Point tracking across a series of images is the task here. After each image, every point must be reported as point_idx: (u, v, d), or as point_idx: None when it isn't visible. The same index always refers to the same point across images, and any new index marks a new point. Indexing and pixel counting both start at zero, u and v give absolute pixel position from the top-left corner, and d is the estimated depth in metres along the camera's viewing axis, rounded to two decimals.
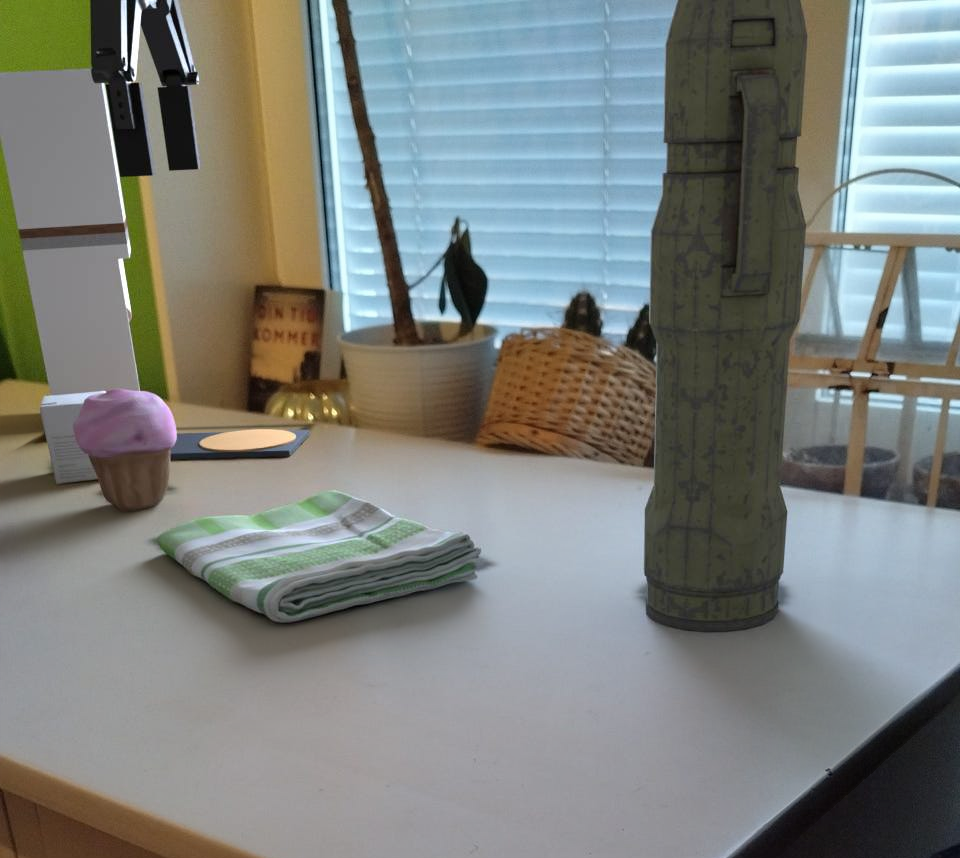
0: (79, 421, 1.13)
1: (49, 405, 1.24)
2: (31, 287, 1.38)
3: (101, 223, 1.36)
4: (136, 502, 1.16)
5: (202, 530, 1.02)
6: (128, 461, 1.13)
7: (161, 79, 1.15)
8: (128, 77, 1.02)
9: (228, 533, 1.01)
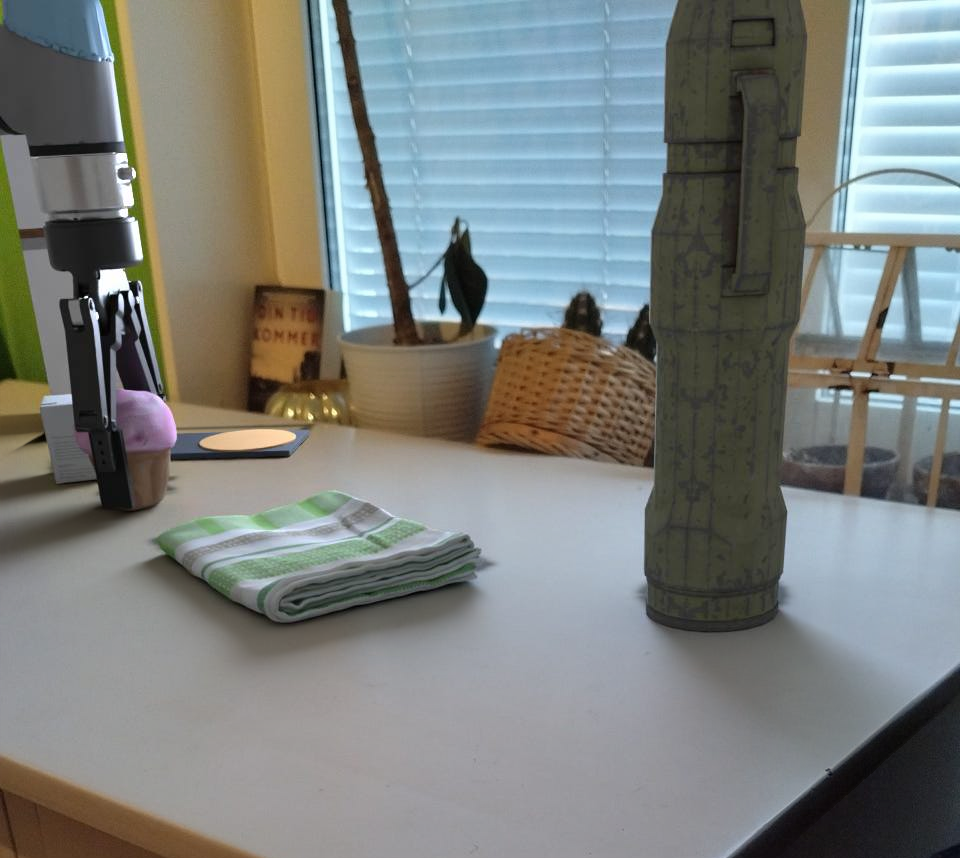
0: None
1: (49, 405, 1.24)
2: (31, 287, 1.38)
3: None
4: (136, 502, 1.16)
5: (202, 530, 1.02)
6: (128, 460, 1.13)
7: None
8: (109, 429, 1.09)
9: (228, 533, 1.01)
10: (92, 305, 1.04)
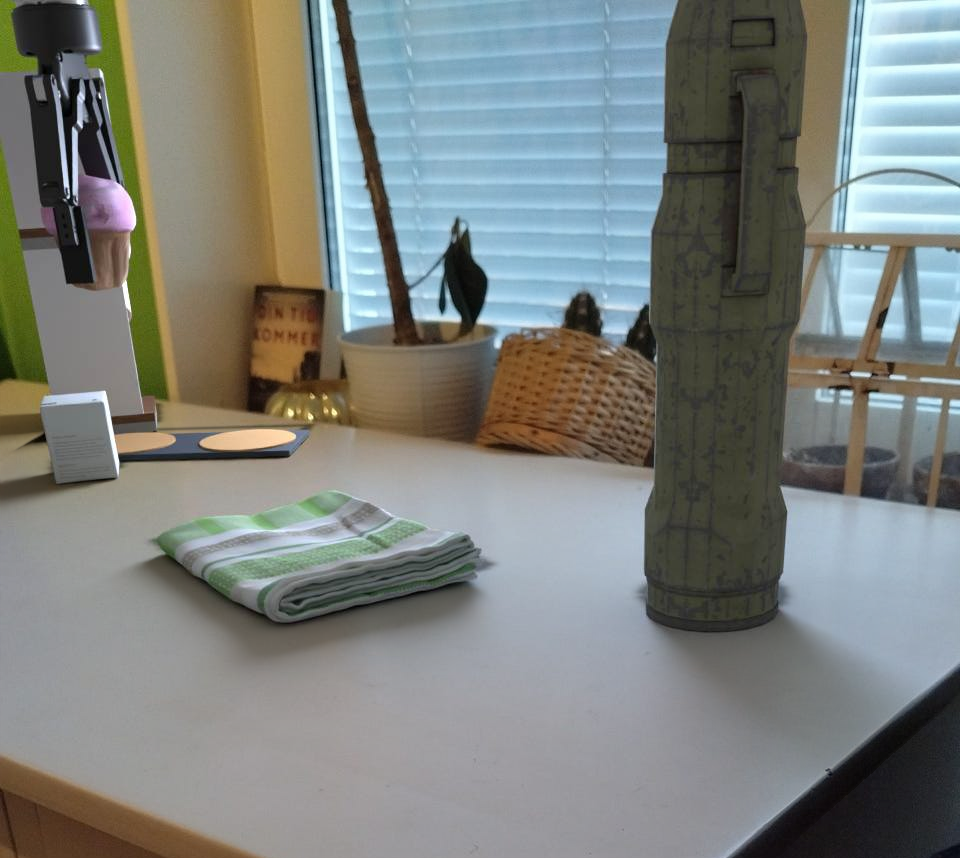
0: None
1: (49, 405, 1.24)
2: (31, 287, 1.38)
3: None
4: (98, 282, 1.26)
5: (202, 530, 1.02)
6: (90, 239, 1.24)
7: None
8: (71, 203, 1.20)
9: (228, 533, 1.01)
10: (54, 81, 1.15)
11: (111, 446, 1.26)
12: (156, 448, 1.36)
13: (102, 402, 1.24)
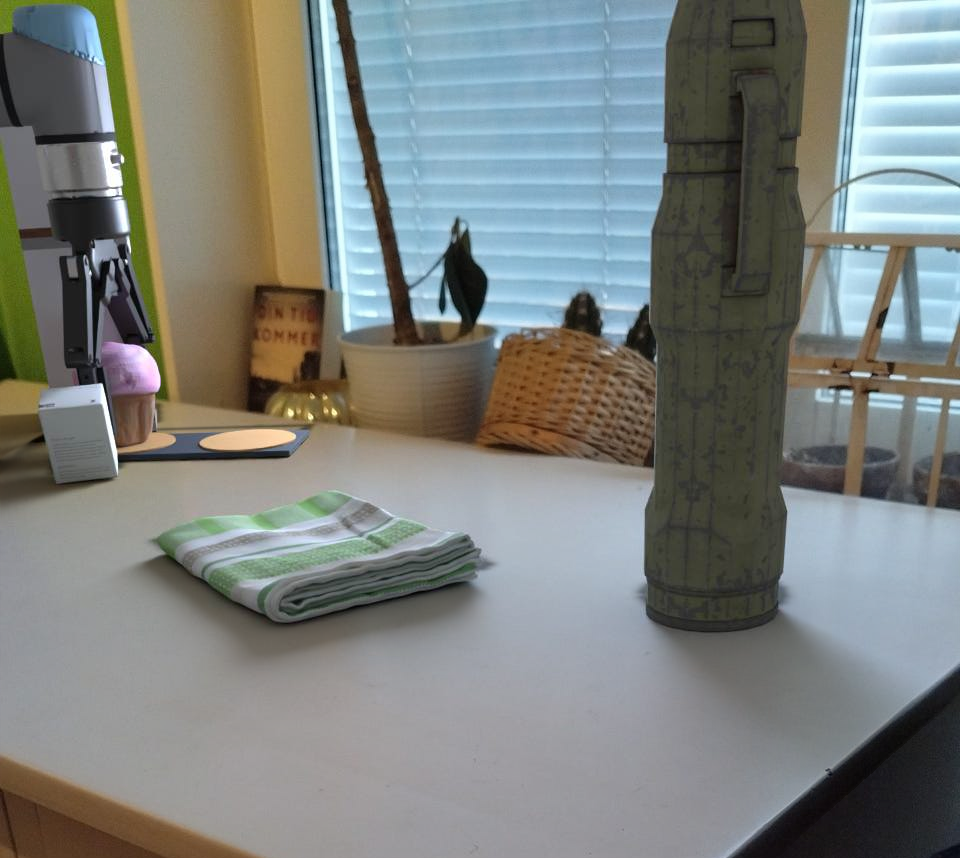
0: None
1: (47, 408, 1.23)
2: (31, 287, 1.38)
3: None
4: (126, 439, 1.36)
5: (202, 530, 1.02)
6: (119, 402, 1.34)
7: (123, 340, 1.40)
8: (94, 365, 1.27)
9: (228, 533, 1.01)
10: (86, 261, 1.24)
11: (110, 447, 1.26)
12: (156, 448, 1.36)
13: (101, 405, 1.23)
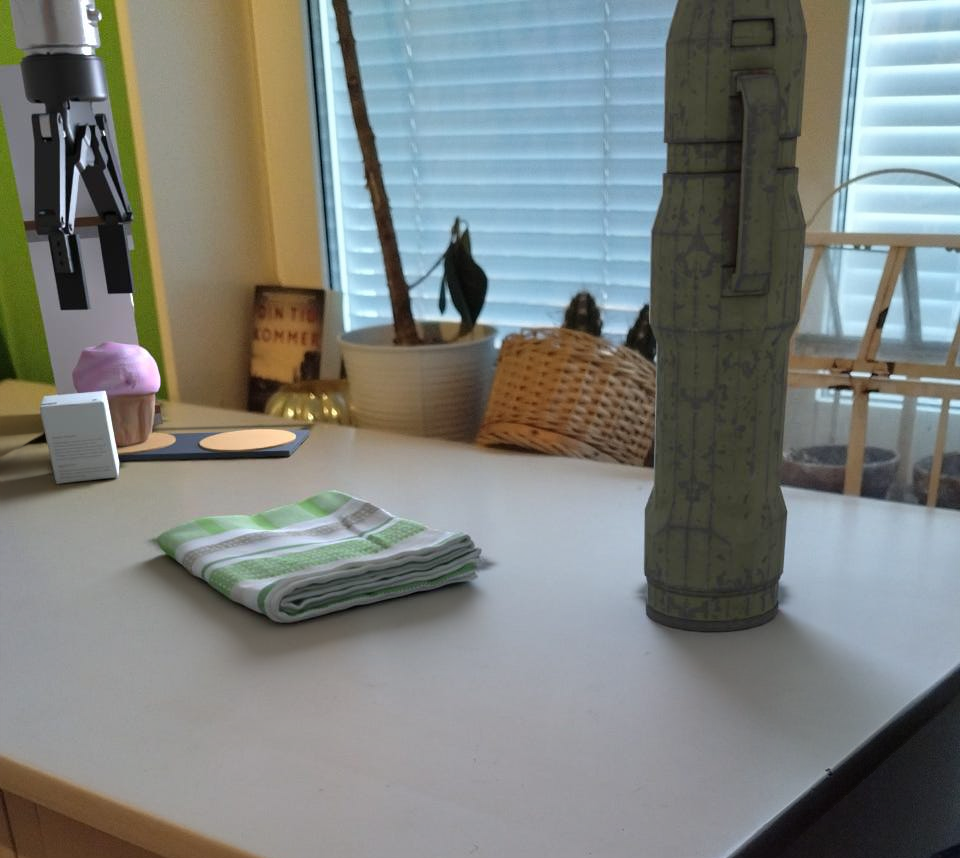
0: (77, 369, 1.33)
1: (49, 405, 1.24)
2: (36, 279, 1.38)
3: None
4: (126, 439, 1.36)
5: (202, 530, 1.02)
6: (118, 402, 1.34)
7: (101, 218, 1.35)
8: (66, 231, 1.21)
9: (228, 533, 1.01)
10: (60, 119, 1.19)
11: (111, 446, 1.26)
12: (156, 448, 1.36)
13: (102, 402, 1.24)
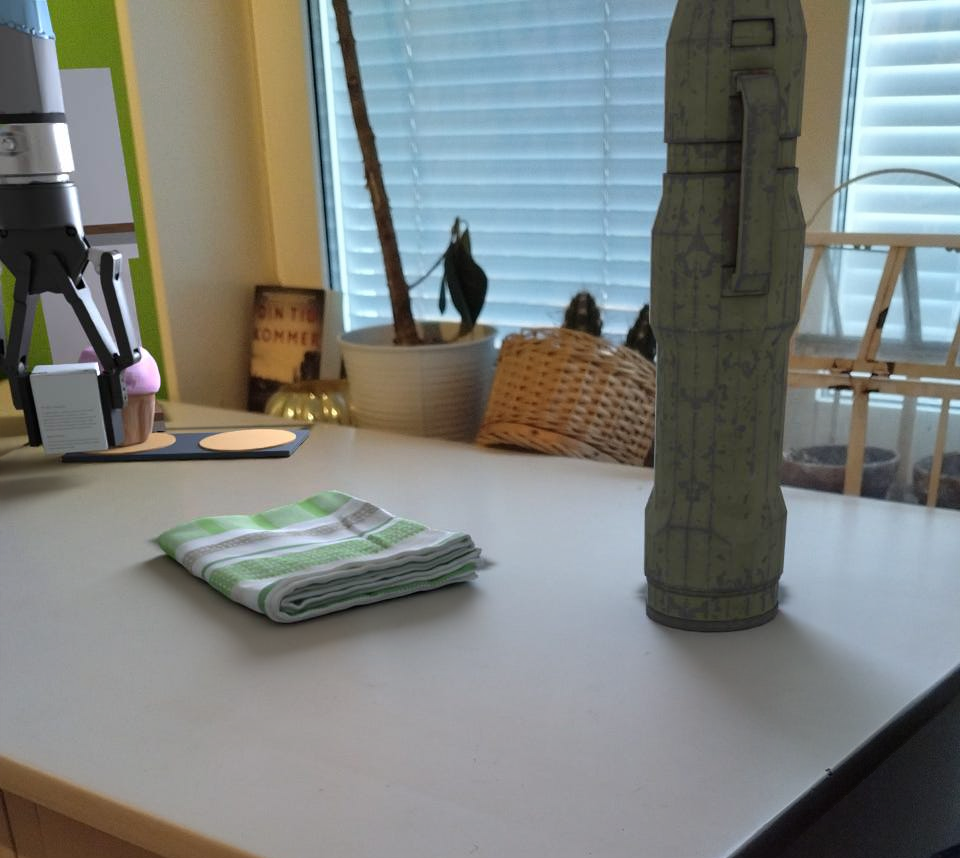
0: None
1: (39, 374, 1.22)
2: None
3: (111, 223, 1.36)
4: (126, 439, 1.36)
5: (202, 530, 1.02)
6: None
7: None
8: None
9: (228, 533, 1.01)
10: None
11: (101, 418, 1.25)
12: (156, 448, 1.36)
13: (93, 373, 1.23)
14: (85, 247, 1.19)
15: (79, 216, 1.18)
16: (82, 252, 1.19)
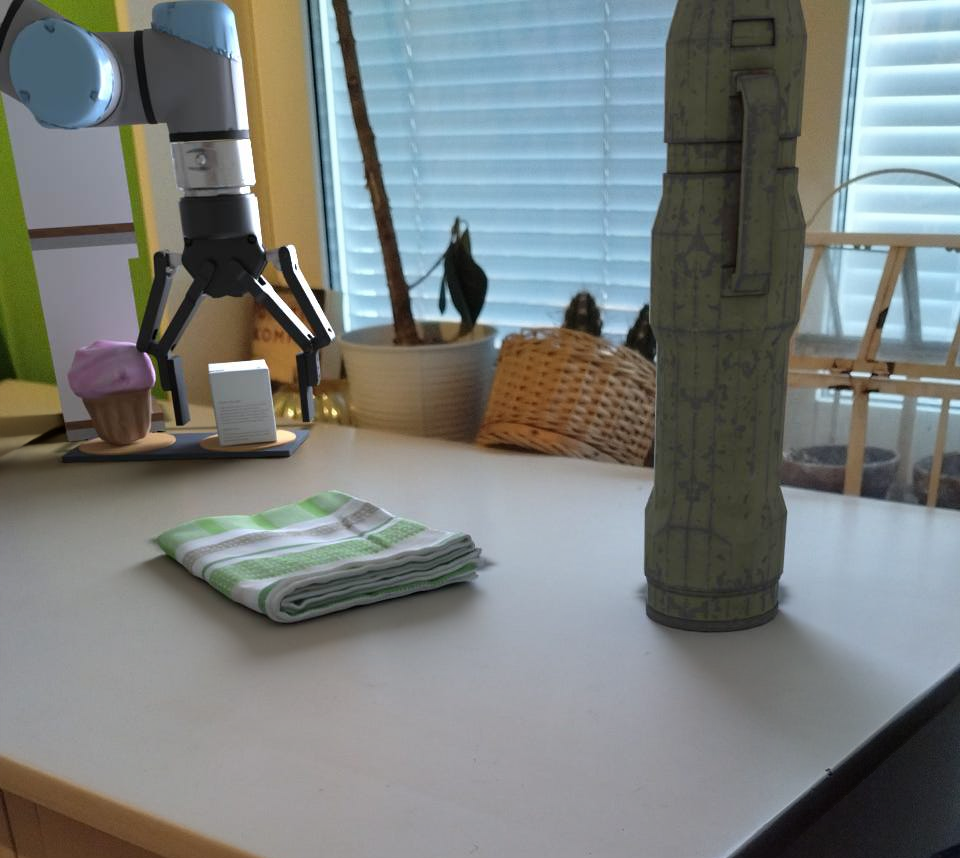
0: (72, 369, 1.33)
1: (217, 372, 1.31)
2: (40, 287, 1.37)
3: (111, 223, 1.36)
4: (125, 436, 1.36)
5: (202, 530, 1.02)
6: (115, 400, 1.34)
7: None
8: None
9: (228, 533, 1.01)
10: (157, 257, 1.28)
11: (272, 411, 1.34)
12: (156, 448, 1.36)
13: (266, 369, 1.32)
14: (264, 253, 1.28)
15: (258, 225, 1.27)
16: (261, 258, 1.28)
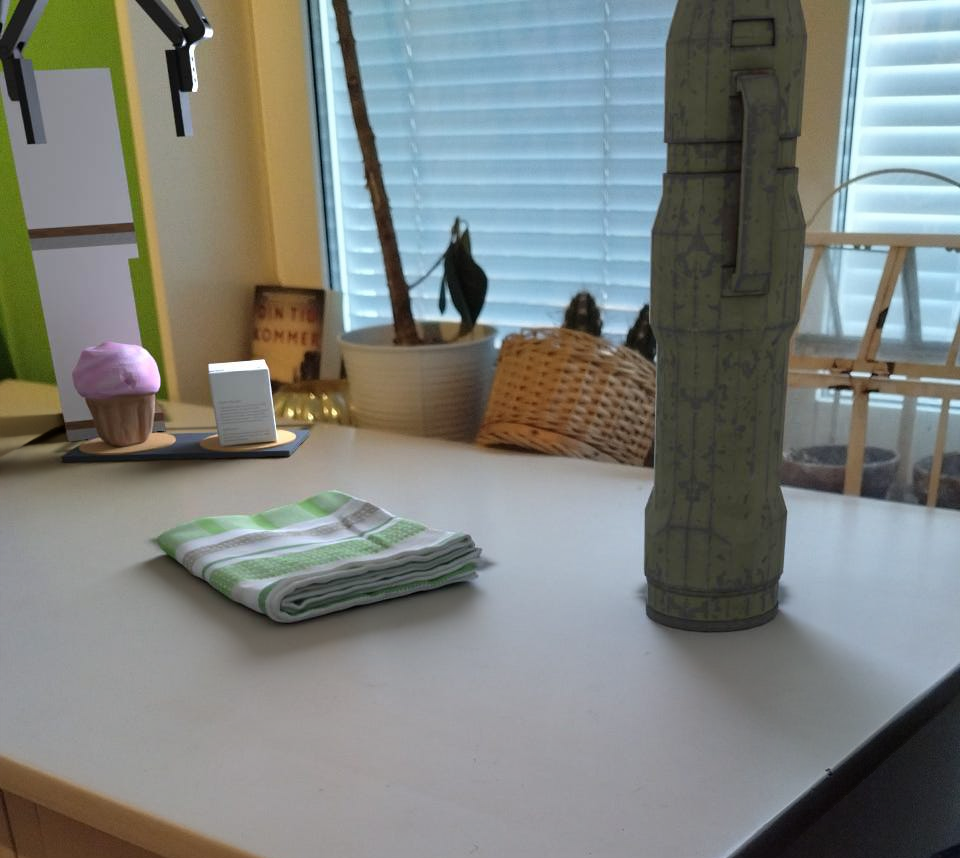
0: (77, 369, 1.33)
1: (217, 372, 1.31)
2: (40, 287, 1.37)
3: (111, 223, 1.36)
4: (126, 439, 1.36)
5: (202, 530, 1.02)
6: (118, 402, 1.34)
7: None
8: None
9: (228, 533, 1.01)
10: None
11: (272, 411, 1.34)
12: (156, 448, 1.36)
13: (266, 369, 1.32)
14: None
15: None
16: None
